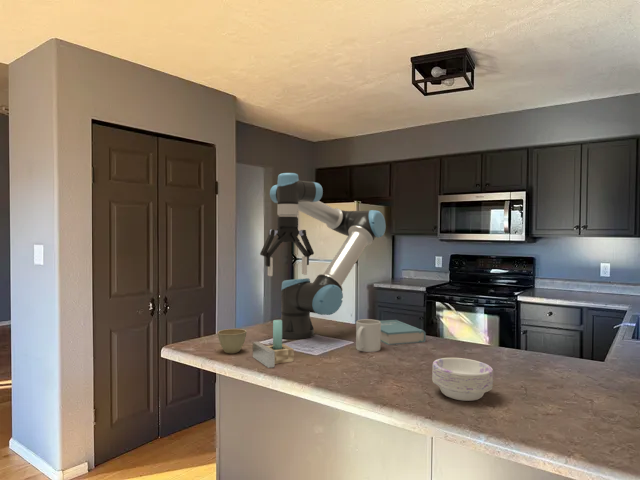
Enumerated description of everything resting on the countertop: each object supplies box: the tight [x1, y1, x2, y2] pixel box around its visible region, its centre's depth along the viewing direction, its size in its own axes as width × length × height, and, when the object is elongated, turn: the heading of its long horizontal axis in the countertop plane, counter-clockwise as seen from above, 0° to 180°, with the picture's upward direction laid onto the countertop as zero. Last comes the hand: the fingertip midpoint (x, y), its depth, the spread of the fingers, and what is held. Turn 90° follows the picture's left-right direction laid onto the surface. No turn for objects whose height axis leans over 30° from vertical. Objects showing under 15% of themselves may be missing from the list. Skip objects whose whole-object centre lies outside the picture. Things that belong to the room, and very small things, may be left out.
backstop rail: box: [252, 341, 276, 369], centre depth 148 cm, size 2×14×5 cm, turn 29°
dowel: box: [272, 319, 283, 350], centre depth 150 cm, size 3×3×12 cm
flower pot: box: [217, 328, 247, 354], centre depth 161 cm, size 10×10×7 cm
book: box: [379, 319, 427, 346], centre depth 185 cm, size 23×16×5 cm
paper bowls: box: [431, 357, 494, 402], centre depth 119 cm, size 15×15×8 cm
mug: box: [355, 318, 382, 353], centre depth 165 cm, size 11×10×10 cm
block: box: [266, 343, 295, 365], centre depth 151 cm, size 8×8×4 cm
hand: (287, 275), depth 165 cm, fingers open, 13 cm apart
